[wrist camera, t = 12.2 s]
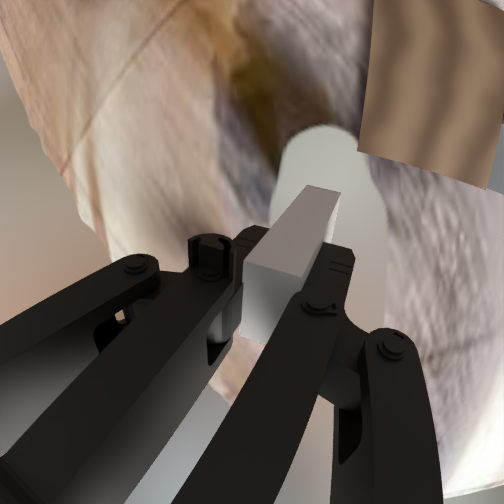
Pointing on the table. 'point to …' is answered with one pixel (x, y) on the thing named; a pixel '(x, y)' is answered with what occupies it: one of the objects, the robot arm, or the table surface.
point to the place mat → (498, 166)
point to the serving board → (435, 86)
